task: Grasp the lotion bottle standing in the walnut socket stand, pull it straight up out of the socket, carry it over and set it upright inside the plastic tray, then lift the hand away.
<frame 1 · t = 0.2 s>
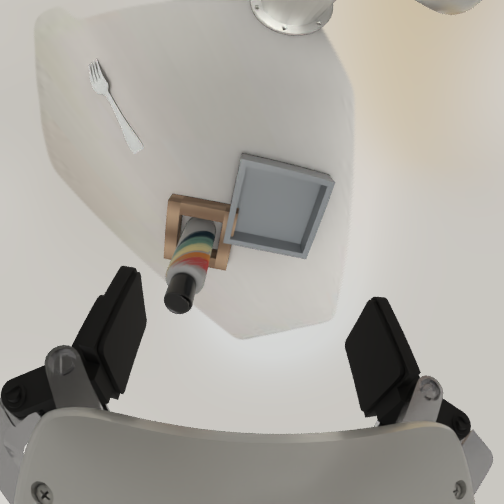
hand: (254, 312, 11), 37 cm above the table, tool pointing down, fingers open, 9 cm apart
tray: (275, 203, 48), on the table
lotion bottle: (201, 228, 51), resting in socket stand
fork: (115, 103, 37), on the table
socket stand: (200, 229, 50), on the table
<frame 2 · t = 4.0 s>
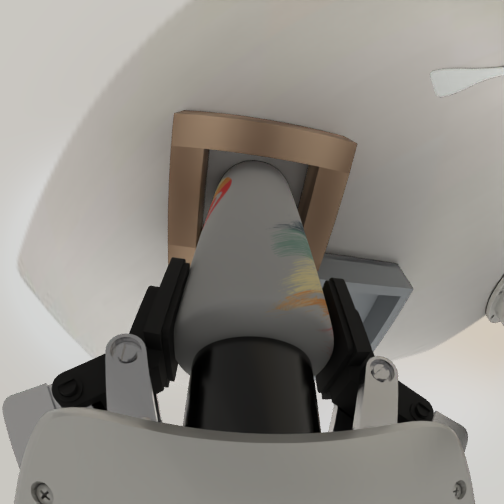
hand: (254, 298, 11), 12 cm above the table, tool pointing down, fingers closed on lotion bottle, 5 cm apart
tray: (309, 312, 29), on the table
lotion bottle: (253, 192, 22), resting in socket stand, touching gripper
fork: (493, 71, 14), on the table
socket stand: (253, 193, 21), on the table
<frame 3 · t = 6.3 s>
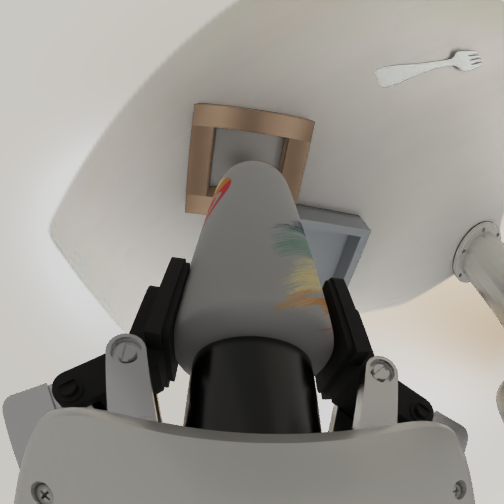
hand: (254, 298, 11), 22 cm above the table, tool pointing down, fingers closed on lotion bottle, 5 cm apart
tray: (292, 256, 37), on the table
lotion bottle: (252, 192, 22), point 10 cm above the table, touching gripper
fork: (435, 64, 22), on the table
socket stand: (246, 160, 30), on the table
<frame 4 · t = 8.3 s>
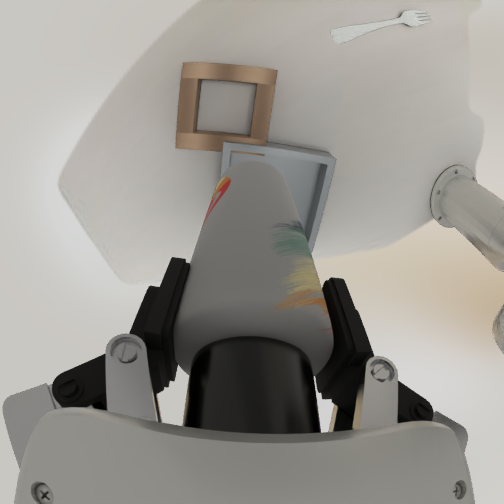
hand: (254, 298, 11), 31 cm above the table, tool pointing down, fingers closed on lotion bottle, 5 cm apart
tray: (270, 191, 41), on the table
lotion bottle: (252, 192, 22), point 19 cm above the table, touching gripper
fork: (385, 23, 26), on the table
socket stand: (225, 106, 34), on the table
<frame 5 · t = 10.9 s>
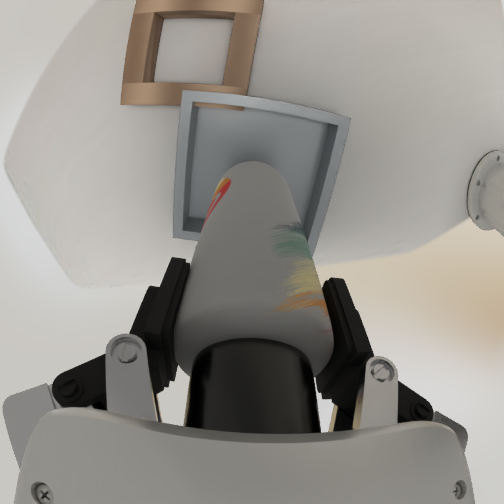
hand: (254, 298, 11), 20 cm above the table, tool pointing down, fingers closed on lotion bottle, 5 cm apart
tray: (254, 167, 28), on the table
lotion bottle: (252, 193, 22), point 8 cm above the table, touching gripper
socket stand: (193, 49, 21), on the table
when the fingers open (14 cm above the table, at t = 12.9 s): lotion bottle drops 1 cm, resting on tray.
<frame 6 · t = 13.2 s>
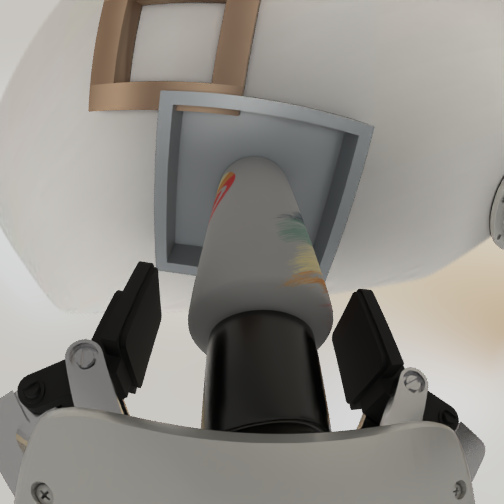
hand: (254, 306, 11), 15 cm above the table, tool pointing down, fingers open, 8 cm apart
tray: (253, 184, 23), on the table
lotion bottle: (253, 186, 23), point 1 cm above the table, touching tray
socket stand: (177, 40, 16), on the table
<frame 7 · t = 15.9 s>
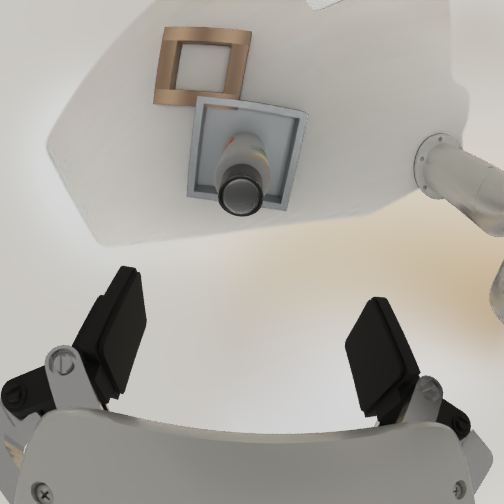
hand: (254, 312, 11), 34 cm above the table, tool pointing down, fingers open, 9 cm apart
tray: (244, 149, 40), on the table
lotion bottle: (245, 149, 39), point 1 cm above the table, touching tray
socket stand: (203, 67, 33), on the table
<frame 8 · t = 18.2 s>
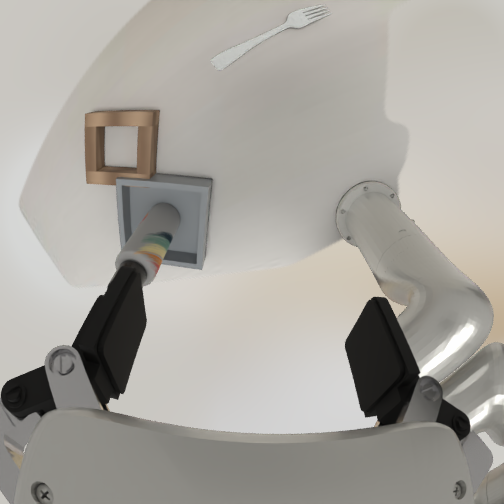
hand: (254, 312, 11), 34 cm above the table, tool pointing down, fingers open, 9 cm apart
tray: (166, 215, 46), on the table
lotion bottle: (165, 216, 45), point 1 cm above the table, touching tray
fork: (272, 33, 30), on the table
socket stand: (123, 145, 39), on the table
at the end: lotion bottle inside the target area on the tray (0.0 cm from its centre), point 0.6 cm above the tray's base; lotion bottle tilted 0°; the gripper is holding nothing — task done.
